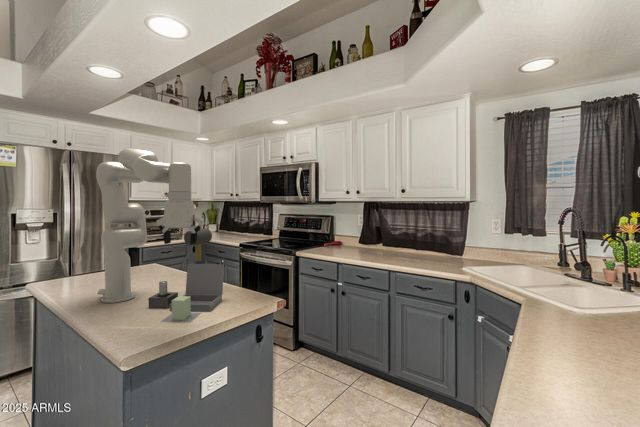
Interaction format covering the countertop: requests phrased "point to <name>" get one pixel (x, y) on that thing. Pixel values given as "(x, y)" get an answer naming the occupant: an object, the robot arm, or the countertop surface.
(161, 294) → the rod
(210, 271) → the lid
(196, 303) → the case
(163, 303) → the square socket block
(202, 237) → the rubber mallet
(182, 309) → the block
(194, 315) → the mat
